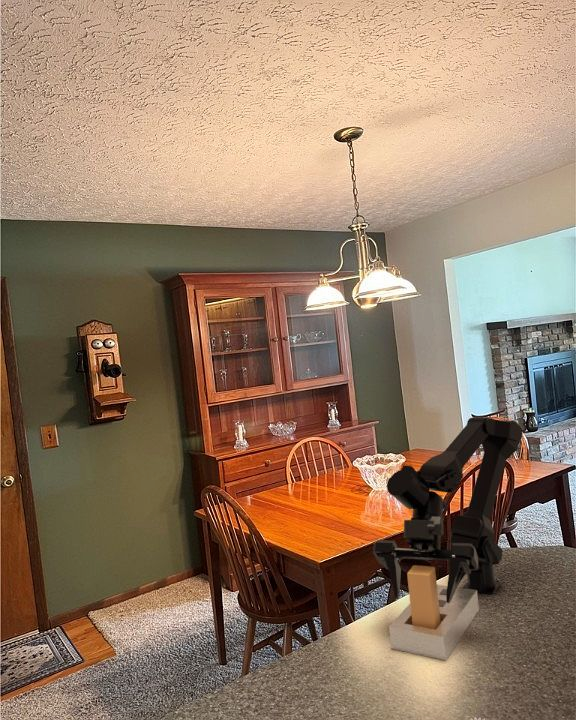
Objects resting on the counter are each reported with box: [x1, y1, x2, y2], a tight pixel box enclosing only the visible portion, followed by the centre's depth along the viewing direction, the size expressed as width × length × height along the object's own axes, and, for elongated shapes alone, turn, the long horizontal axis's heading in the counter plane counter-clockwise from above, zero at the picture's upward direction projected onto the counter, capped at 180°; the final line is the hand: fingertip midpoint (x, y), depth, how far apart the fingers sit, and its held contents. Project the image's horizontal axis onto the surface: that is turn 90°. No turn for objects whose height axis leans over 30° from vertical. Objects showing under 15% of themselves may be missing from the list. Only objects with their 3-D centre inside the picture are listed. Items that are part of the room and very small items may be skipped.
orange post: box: [406, 564, 441, 630], centre depth 103 cm, size 4×4×13 cm
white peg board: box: [388, 584, 480, 661], centre depth 107 cm, size 20×10×4 cm, turn 146°
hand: (421, 600), depth 102 cm, fingers open, 9 cm apart
